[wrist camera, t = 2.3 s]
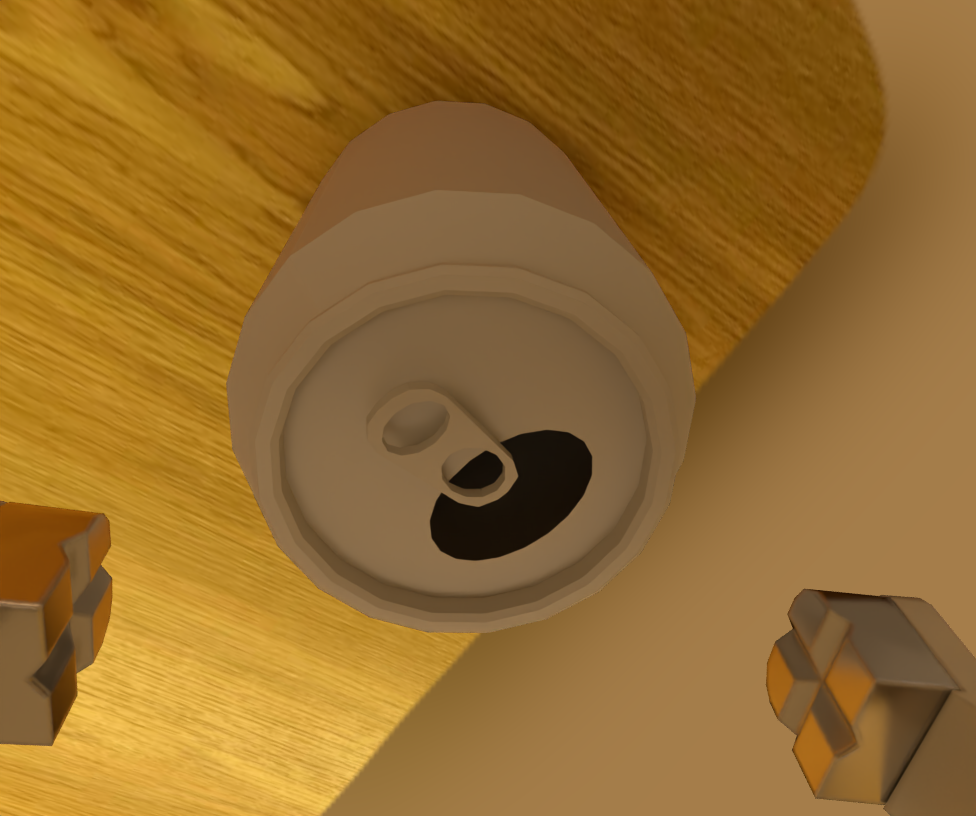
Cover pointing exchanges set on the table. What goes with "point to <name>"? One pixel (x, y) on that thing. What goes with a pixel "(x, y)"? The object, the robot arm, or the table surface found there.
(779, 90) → the table surface
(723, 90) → the table surface
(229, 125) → the table surface
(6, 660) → the robot arm
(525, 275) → the can
